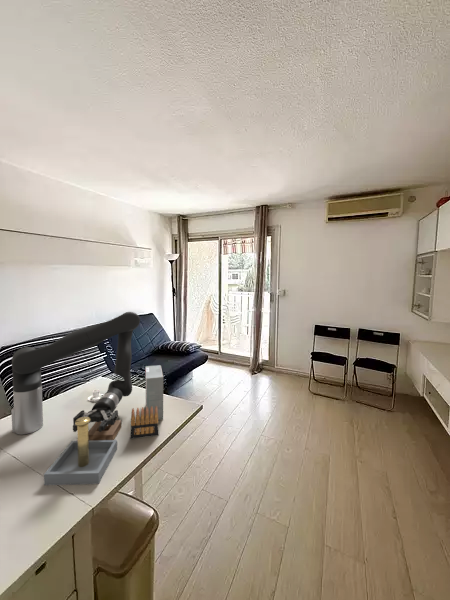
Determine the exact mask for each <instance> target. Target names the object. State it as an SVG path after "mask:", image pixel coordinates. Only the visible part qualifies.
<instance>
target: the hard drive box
mask: <svg viewBox="0 0 450 600" xmlns="http://www.w3.org/2000/svg"><path fill="white" fill-rule="evenodd" d="M151 406H152V407H153V415H154V413H155V407H156V406H157V409H158V421H159V420H163V419H164V373H163V370H162V365H160V364H159V365H157V364H156V365H148V366H147V365H146V366H145V408H146V407H148V410H149V420H150V409H151Z"/></svg>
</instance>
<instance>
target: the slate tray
mask: <svg viewBox="0 0 450 600" xmlns="http://www.w3.org/2000/svg"><path fill="white" fill-rule="evenodd" d="M117 450H118V440H117V439H114V440H89V463H88V465H86V466H84V467H79V466H78V440H71V441H70V442H69V444H68V445H67V446H66V447H65V448H64V450H63V451H62V452H61V453H60V454H59V455H58V457H56V459H55V460H54V462H53V463H52V464H51V465H50V466H49V467H48V469H47V470H46V471H45V472H44V473H43V485H44V486H66V485H69V486H70V485H99V484H100V483H101V480H102V479H103V477H104V475H105V473H106V471H107V469H108V467H109V466H110V463H111V462H112V460H113V458H114V456H115V454H116V452H117Z"/></svg>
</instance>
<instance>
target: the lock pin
mask: <svg viewBox="0 0 450 600" xmlns="http://www.w3.org/2000/svg"><path fill="white" fill-rule="evenodd" d="M89 422H90V418H89V417H81V418H79V419H77V420H76V421H75V425H76V426H77V431H76V432H77V435H76V436H77V441H78V466H79V467H84V466H86V465H88V463H89V430H90V429H89V424H90V423H89ZM88 423H89V424H88Z"/></svg>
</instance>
